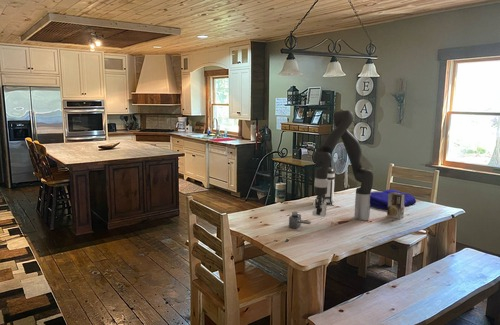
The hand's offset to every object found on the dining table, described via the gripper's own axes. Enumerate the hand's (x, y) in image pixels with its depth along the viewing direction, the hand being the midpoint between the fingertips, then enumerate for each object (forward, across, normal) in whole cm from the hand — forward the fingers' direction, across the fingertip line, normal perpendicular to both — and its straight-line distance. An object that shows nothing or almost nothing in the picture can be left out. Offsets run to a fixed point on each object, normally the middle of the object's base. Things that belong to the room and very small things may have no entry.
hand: (319, 213), depth 223 cm
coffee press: (+11, +61, +10) cm, 63 cm away
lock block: (+1, 0, 0) cm, 1 cm away
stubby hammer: (+11, 0, +11) cm, 16 cm away
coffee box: (+11, +50, -40) cm, 65 cm away
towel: (+11, +83, -32) cm, 90 cm away
